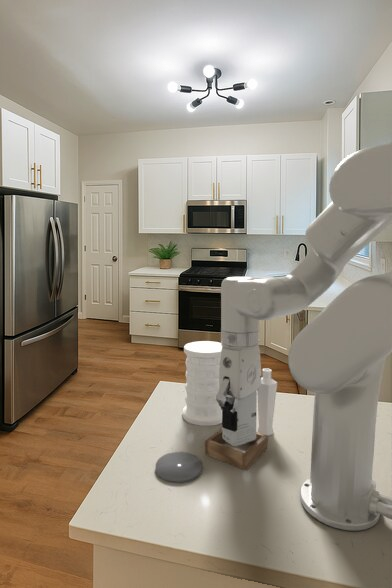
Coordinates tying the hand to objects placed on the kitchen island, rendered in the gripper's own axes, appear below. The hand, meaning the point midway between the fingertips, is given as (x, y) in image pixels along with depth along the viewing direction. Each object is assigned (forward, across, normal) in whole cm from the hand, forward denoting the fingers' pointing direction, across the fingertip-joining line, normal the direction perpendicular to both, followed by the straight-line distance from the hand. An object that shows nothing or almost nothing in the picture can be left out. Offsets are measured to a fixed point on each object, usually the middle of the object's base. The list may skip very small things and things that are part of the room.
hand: (239, 421), depth 79 cm
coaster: (+7, -12, +7) cm, 15 cm away
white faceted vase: (+7, +11, 0) cm, 13 cm away
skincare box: (+4, 0, 0) cm, 4 cm away
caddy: (+7, 0, +1) cm, 7 cm away
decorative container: (+7, +10, +16) cm, 20 cm away
